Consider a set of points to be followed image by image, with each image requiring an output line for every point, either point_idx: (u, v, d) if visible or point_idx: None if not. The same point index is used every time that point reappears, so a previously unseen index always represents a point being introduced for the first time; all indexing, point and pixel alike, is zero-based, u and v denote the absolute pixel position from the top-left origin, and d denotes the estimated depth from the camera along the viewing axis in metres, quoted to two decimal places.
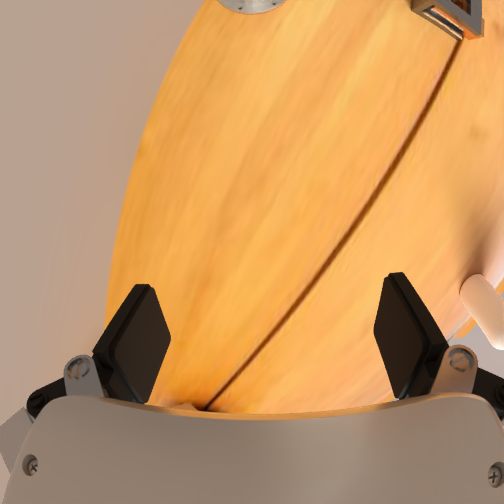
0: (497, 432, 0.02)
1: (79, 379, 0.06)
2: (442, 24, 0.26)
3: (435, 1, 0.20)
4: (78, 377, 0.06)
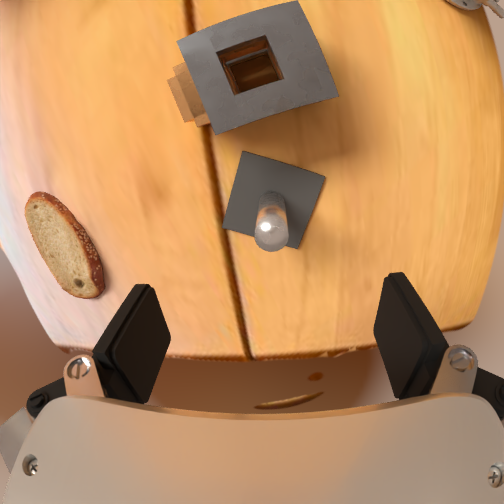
0: (497, 432, 0.02)
1: (79, 379, 0.06)
2: None
3: (288, 3, 0.16)
4: (78, 377, 0.06)
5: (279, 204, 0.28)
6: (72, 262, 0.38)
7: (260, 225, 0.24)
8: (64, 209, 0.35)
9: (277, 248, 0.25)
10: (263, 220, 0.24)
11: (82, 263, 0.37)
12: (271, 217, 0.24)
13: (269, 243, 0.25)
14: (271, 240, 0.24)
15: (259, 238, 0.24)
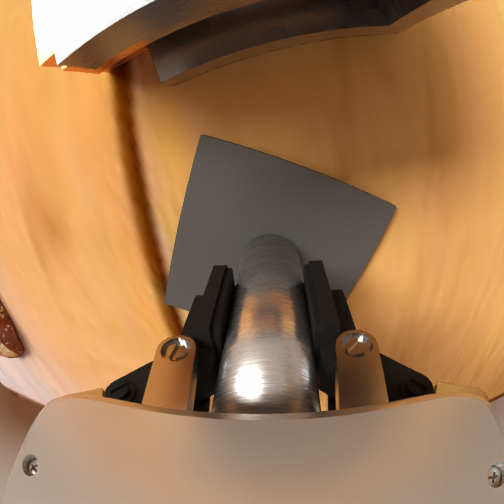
0: (497, 432, 0.02)
1: (171, 361, 0.07)
2: None
3: None
4: (171, 358, 0.07)
5: (293, 292, 0.10)
6: None
7: None
8: None
9: None
10: (238, 402, 0.06)
11: None
12: (269, 387, 0.06)
13: None
14: None
15: None
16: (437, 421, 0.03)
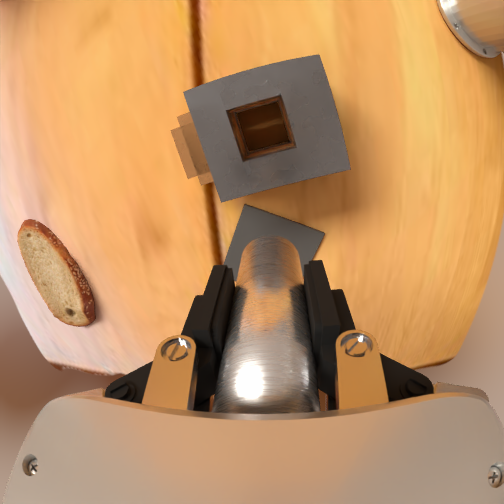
0: (497, 432, 0.02)
1: (171, 361, 0.07)
2: None
3: (308, 57, 0.17)
4: (171, 358, 0.07)
5: (293, 294, 0.10)
6: (65, 293, 0.37)
7: None
8: (58, 243, 0.34)
9: None
10: (238, 404, 0.06)
11: (74, 296, 0.37)
12: (269, 388, 0.06)
13: None
14: None
15: None
16: (437, 421, 0.03)
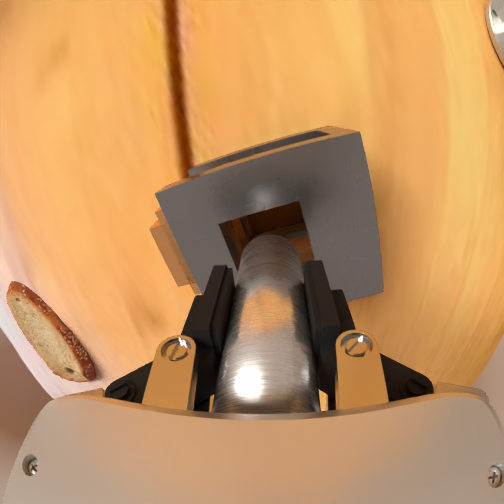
0: (497, 432, 0.02)
1: (171, 361, 0.07)
2: (250, 151, 0.19)
3: None
4: (171, 358, 0.07)
5: (293, 293, 0.10)
6: (62, 356, 0.34)
7: None
8: (48, 310, 0.31)
9: None
10: (238, 403, 0.06)
11: (72, 361, 0.33)
12: (270, 388, 0.06)
13: None
14: None
15: None
16: (437, 421, 0.03)
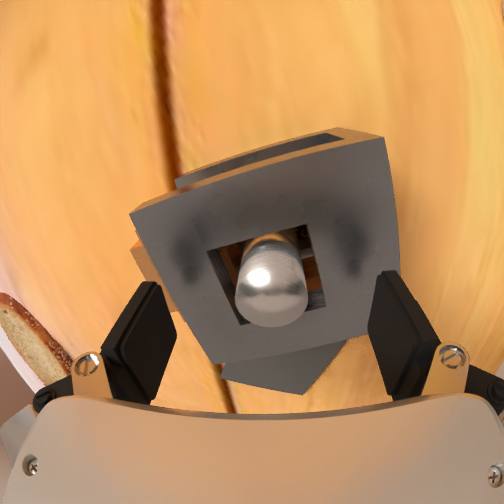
0: (497, 432, 0.02)
1: (87, 376, 0.06)
2: (247, 157, 0.16)
3: None
4: (86, 374, 0.06)
5: None
6: (52, 370, 0.31)
7: (248, 278, 0.11)
8: (36, 324, 0.28)
9: (282, 322, 0.12)
10: (255, 265, 0.11)
11: (62, 375, 0.30)
12: (273, 258, 0.11)
13: (265, 313, 0.12)
14: (270, 307, 0.11)
15: (245, 303, 0.11)
16: (437, 421, 0.03)
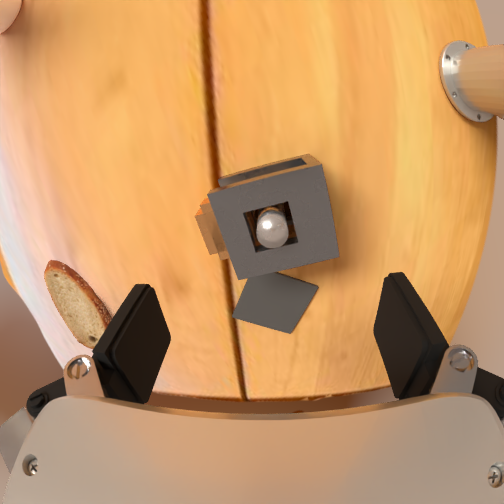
0: (497, 432, 0.02)
1: (79, 379, 0.06)
2: (259, 169, 0.31)
3: (312, 167, 0.24)
4: (78, 377, 0.06)
5: (279, 205, 0.30)
6: (90, 325, 0.45)
7: (262, 222, 0.25)
8: (85, 285, 0.42)
9: (277, 245, 0.26)
10: (265, 218, 0.26)
11: (99, 328, 0.44)
12: (273, 215, 0.26)
13: (269, 240, 0.26)
14: (271, 237, 0.26)
15: (260, 235, 0.26)
16: (437, 421, 0.03)
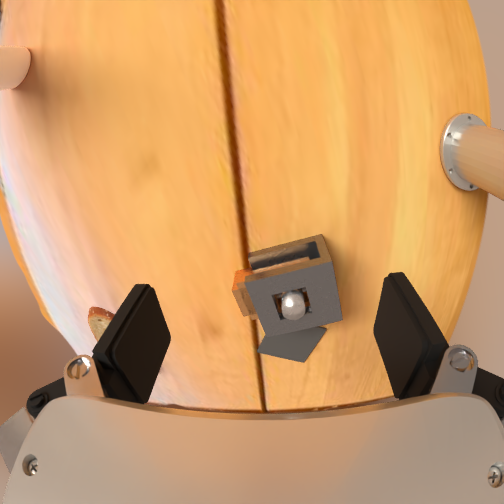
0: (497, 432, 0.02)
1: (79, 379, 0.06)
2: (281, 250, 0.39)
3: (325, 263, 0.33)
4: (78, 377, 0.06)
5: None
6: None
7: (286, 304, 0.34)
8: None
9: (296, 318, 0.35)
10: (288, 300, 0.34)
11: None
12: (294, 297, 0.34)
13: (291, 315, 0.35)
14: (293, 313, 0.35)
15: (285, 312, 0.35)
16: (437, 421, 0.03)
